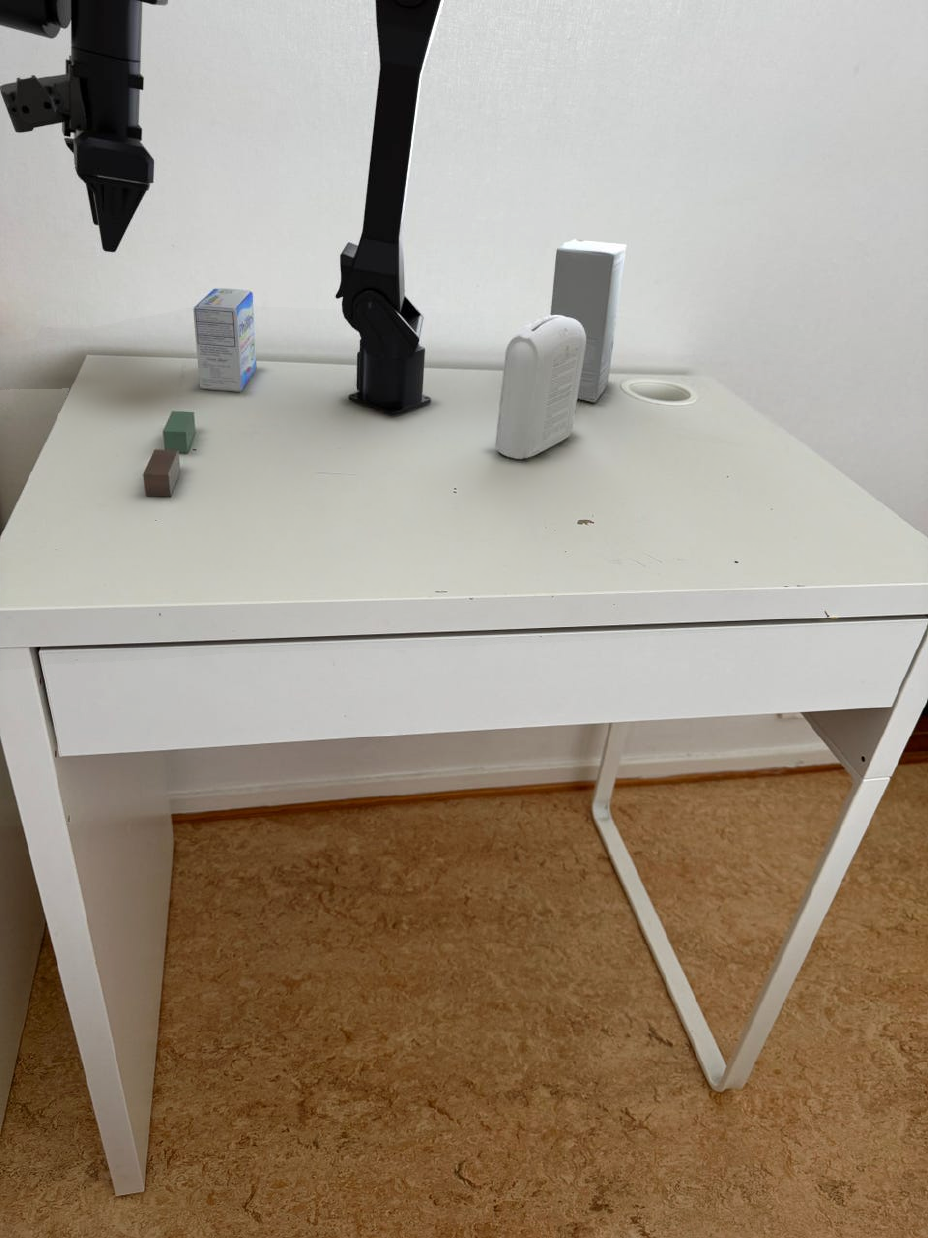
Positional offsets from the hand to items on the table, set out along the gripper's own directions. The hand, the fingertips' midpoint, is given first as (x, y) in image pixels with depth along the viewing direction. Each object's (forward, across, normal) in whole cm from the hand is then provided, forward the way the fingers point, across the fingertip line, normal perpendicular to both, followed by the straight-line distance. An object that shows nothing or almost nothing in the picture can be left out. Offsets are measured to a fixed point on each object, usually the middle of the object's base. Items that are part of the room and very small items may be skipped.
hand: (103, 237), depth 88 cm
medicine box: (+13, +3, +13) cm, 18 cm away
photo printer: (+8, +26, +38) cm, 46 cm away
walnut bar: (+12, +27, +2) cm, 30 cm away
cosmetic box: (+7, +12, +50) cm, 52 cm away
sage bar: (+12, +19, +5) cm, 23 cm away
